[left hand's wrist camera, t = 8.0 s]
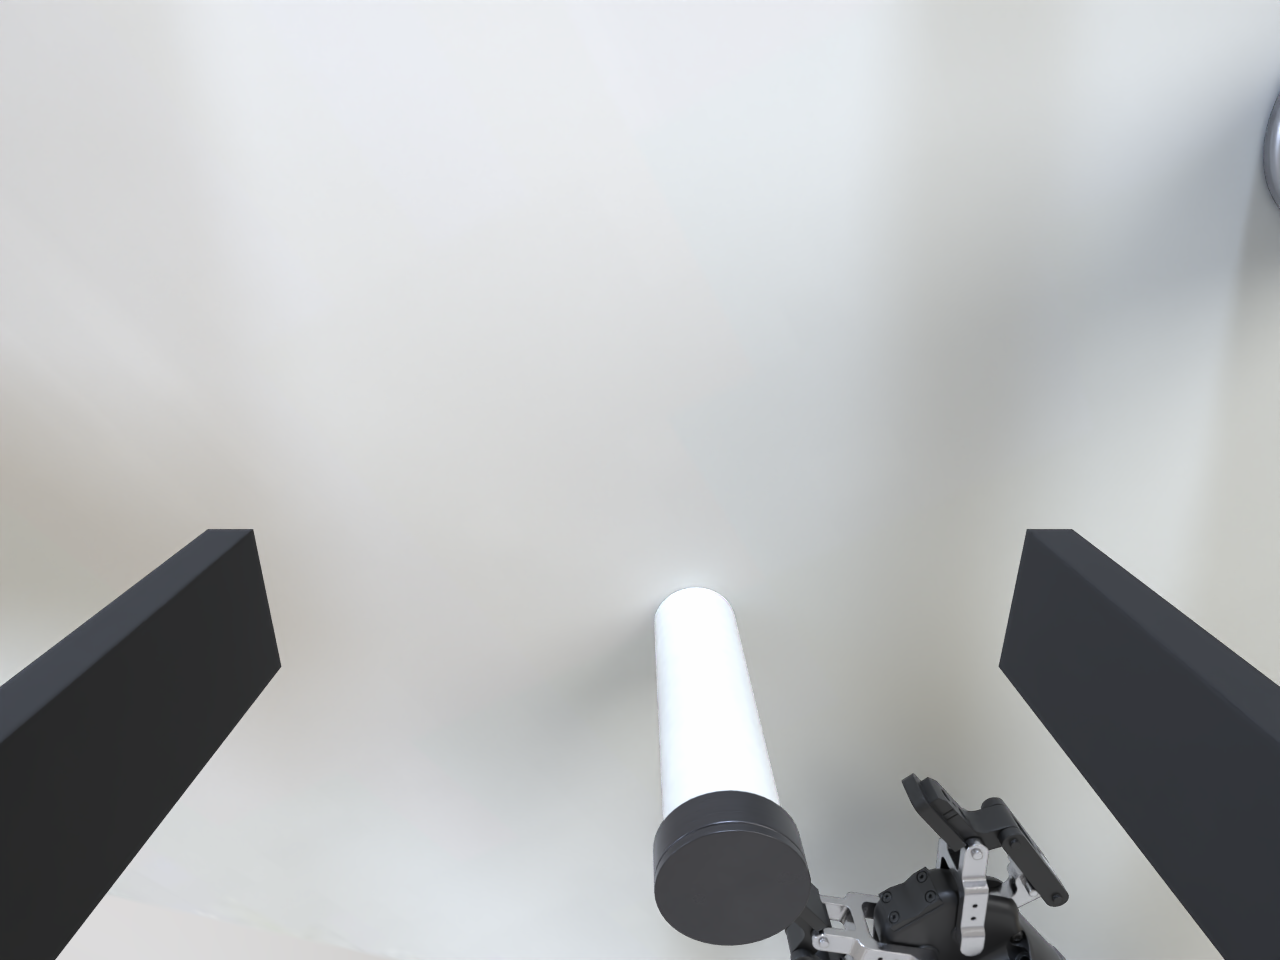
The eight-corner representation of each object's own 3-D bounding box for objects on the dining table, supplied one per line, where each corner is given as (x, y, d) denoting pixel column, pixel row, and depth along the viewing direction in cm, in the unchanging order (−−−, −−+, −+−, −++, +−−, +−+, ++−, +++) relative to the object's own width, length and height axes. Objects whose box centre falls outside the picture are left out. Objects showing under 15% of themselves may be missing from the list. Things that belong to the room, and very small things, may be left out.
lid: (713, 921, 28) (718, 967, 26) (622, 839, 27) (622, 883, 25) (828, 853, 27) (841, 897, 25) (741, 764, 25) (748, 804, 24)
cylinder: (687, 670, 42) (719, 944, 27) (637, 618, 41) (639, 873, 25) (751, 627, 41) (822, 885, 26) (701, 571, 40) (744, 808, 24)
